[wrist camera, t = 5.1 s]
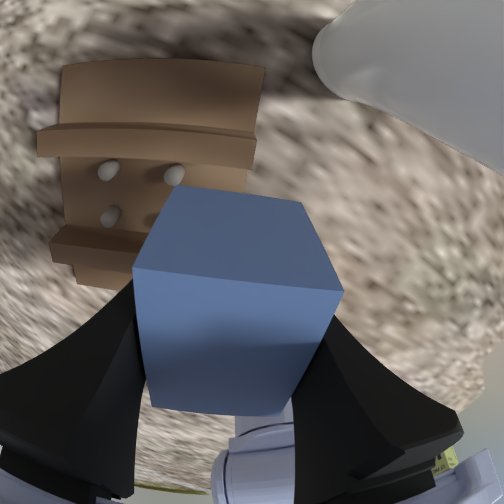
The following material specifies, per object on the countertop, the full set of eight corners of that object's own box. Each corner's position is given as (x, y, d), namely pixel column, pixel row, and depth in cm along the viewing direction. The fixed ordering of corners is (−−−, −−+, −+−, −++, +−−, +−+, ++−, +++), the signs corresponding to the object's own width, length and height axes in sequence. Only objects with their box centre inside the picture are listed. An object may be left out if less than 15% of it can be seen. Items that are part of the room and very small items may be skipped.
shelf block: (267, 321, 13) (279, 416, 9) (170, 311, 13) (151, 406, 9) (301, 202, 10) (344, 291, 6) (175, 184, 10) (132, 267, 6)
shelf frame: (226, 295, 22) (226, 328, 19) (81, 276, 21) (64, 304, 18) (263, 68, 14) (270, 63, 11) (71, 65, 12) (39, 65, 9)
